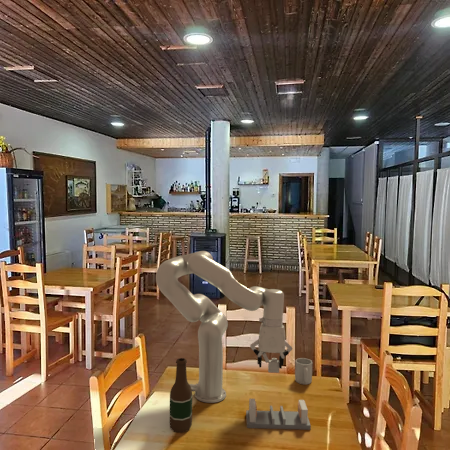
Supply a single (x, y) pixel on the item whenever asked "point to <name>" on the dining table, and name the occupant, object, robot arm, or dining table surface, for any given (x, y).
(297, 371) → the cup
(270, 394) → the dining table surface
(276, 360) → the lighter
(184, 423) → the beer bottle
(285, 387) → the dining table surface
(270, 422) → the grey holder rack
